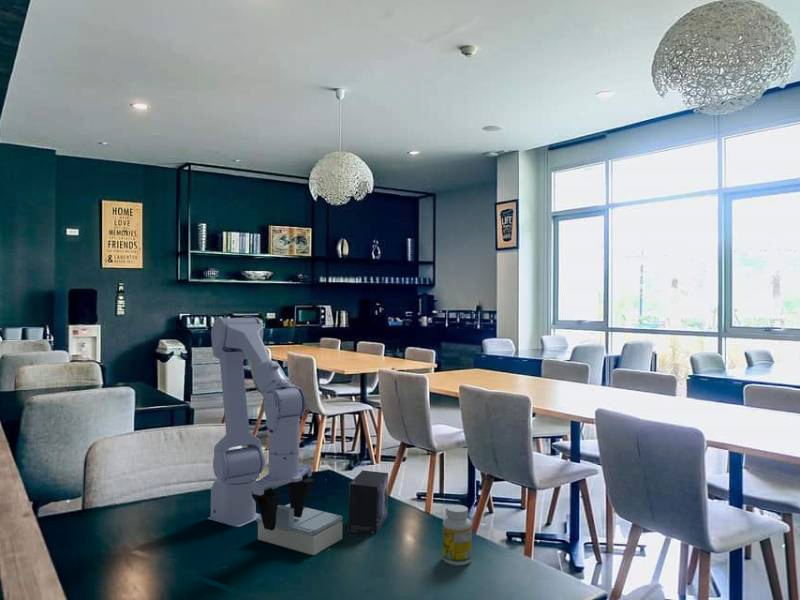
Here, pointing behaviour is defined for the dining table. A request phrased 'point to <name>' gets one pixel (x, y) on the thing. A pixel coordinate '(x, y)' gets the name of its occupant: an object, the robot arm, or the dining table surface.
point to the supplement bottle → (457, 536)
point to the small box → (368, 502)
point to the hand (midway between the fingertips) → (283, 522)
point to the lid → (303, 520)
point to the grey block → (302, 538)
